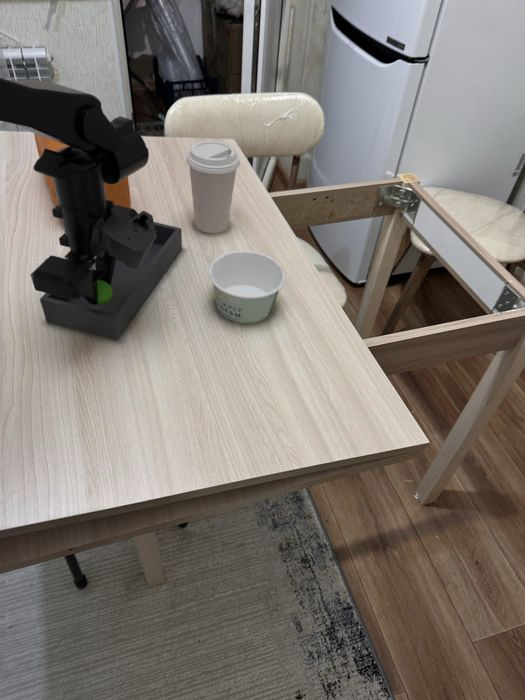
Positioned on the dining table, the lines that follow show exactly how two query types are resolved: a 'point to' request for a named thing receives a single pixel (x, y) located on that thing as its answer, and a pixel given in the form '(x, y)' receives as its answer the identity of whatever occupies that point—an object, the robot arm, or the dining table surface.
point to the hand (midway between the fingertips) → (100, 296)
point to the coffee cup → (212, 184)
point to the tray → (118, 291)
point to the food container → (246, 285)
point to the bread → (113, 191)
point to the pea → (104, 292)
